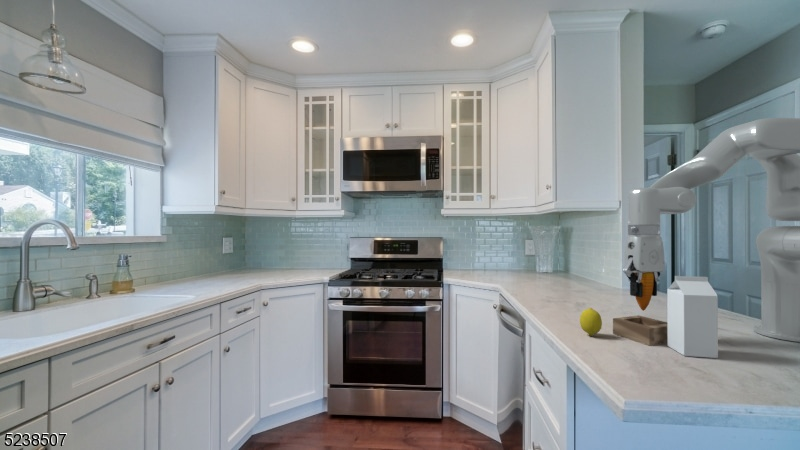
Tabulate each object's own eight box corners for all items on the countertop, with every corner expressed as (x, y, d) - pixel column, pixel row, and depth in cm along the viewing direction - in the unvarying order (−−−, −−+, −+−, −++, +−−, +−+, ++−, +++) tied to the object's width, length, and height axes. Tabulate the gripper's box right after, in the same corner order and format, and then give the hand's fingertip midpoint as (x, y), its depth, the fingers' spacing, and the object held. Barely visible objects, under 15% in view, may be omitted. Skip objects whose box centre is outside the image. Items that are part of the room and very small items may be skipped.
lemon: (602, 334, 99) (602, 307, 99) (601, 340, 94) (601, 311, 94) (580, 331, 102) (580, 304, 102) (579, 336, 97) (578, 308, 97)
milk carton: (718, 358, 81) (717, 279, 81) (684, 356, 82) (683, 278, 83) (698, 348, 88) (698, 274, 88) (667, 346, 89) (667, 274, 89)
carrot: (657, 313, 94) (657, 258, 94) (635, 311, 95) (635, 258, 95) (650, 309, 98) (650, 257, 98) (630, 307, 100) (630, 256, 100)
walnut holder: (639, 330, 103) (639, 315, 103) (677, 341, 93) (677, 325, 93) (612, 333, 100) (612, 318, 100) (649, 345, 90) (649, 328, 90)
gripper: (634, 231, 90) (634, 300, 90) (678, 231, 96) (678, 296, 96) (609, 231, 98) (609, 294, 98) (651, 231, 103) (651, 291, 103)
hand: (643, 295), depth 97 cm, fingers closed on carrot, 4 cm apart
